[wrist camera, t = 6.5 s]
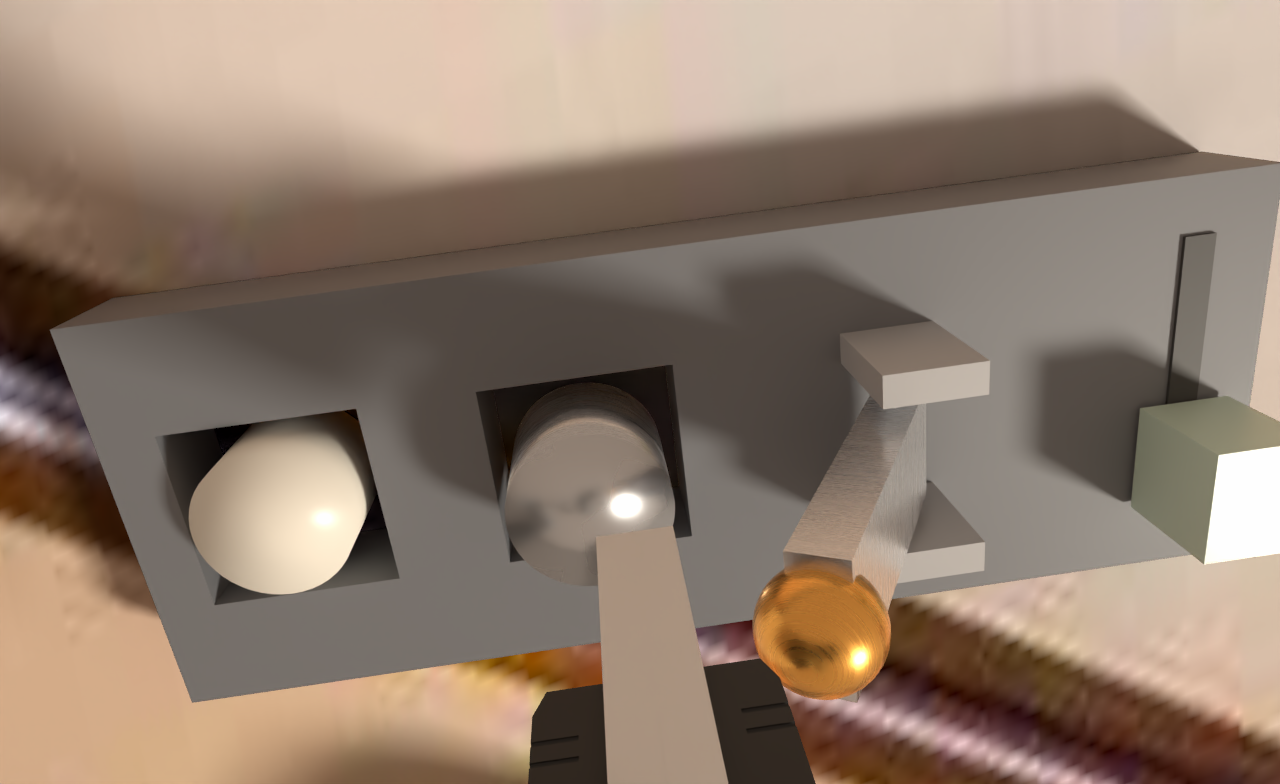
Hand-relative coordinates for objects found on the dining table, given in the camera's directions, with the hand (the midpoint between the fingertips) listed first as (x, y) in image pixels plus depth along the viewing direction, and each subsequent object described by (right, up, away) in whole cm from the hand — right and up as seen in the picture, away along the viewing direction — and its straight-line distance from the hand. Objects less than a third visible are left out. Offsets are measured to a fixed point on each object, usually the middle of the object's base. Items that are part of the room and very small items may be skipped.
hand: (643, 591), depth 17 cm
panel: (+1, +3, +9) cm, 9 cm away
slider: (+15, +2, +7) cm, 16 cm away
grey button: (-1, +2, +7) cm, 7 cm away
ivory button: (-10, +2, +8) cm, 13 cm away
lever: (+7, +3, +5) cm, 9 cm away
